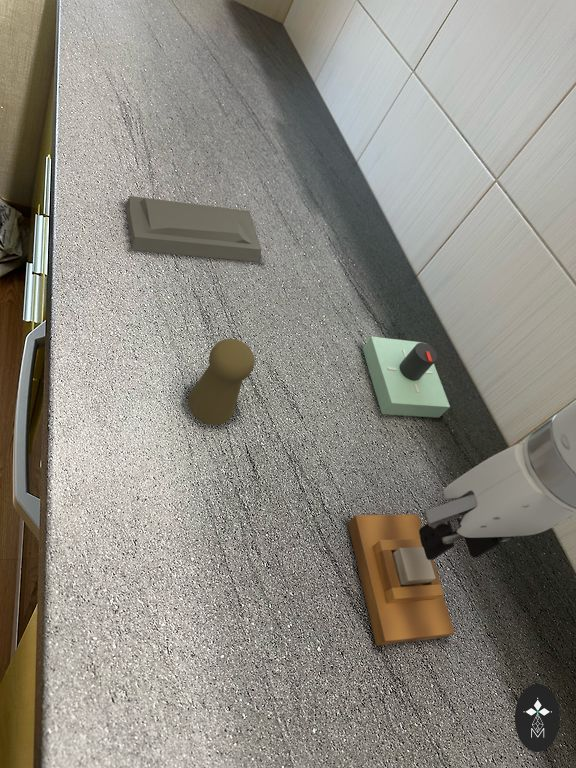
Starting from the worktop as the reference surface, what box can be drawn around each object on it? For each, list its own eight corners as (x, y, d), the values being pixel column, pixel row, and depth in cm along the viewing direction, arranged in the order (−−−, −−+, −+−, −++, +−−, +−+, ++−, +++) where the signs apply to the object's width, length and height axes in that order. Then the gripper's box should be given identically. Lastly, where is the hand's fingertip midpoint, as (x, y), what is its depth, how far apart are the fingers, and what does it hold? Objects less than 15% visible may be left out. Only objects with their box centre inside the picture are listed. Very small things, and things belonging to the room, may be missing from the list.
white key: (418, 552, 66) (426, 546, 65) (427, 583, 64) (436, 578, 63) (391, 553, 65) (399, 547, 64) (400, 585, 63) (408, 580, 62)
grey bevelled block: (259, 262, 91) (266, 245, 89) (132, 250, 83) (135, 231, 80) (246, 218, 97) (252, 202, 94) (125, 203, 88) (128, 184, 86)
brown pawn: (192, 426, 69) (215, 373, 61) (183, 385, 72) (204, 329, 64) (239, 423, 72) (267, 372, 64) (228, 383, 75) (254, 330, 67)
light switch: (409, 520, 73) (426, 508, 70) (444, 637, 65) (464, 629, 62) (347, 522, 69) (362, 509, 66) (375, 646, 62) (393, 637, 59)
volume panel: (416, 354, 92) (426, 342, 90) (439, 417, 86) (451, 406, 83) (362, 348, 88) (371, 335, 86) (381, 414, 82) (392, 402, 79)
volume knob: (397, 359, 85) (413, 339, 82) (417, 362, 86) (434, 343, 83) (402, 379, 83) (419, 359, 79) (423, 382, 84) (441, 362, 81)
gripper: (627, 425, 51) (498, 509, 64) (473, 416, 44) (366, 511, 58) (671, 505, 47) (524, 576, 60) (510, 507, 40) (385, 586, 54)
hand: (448, 543), depth 59 cm, fingers open, 4 cm apart
